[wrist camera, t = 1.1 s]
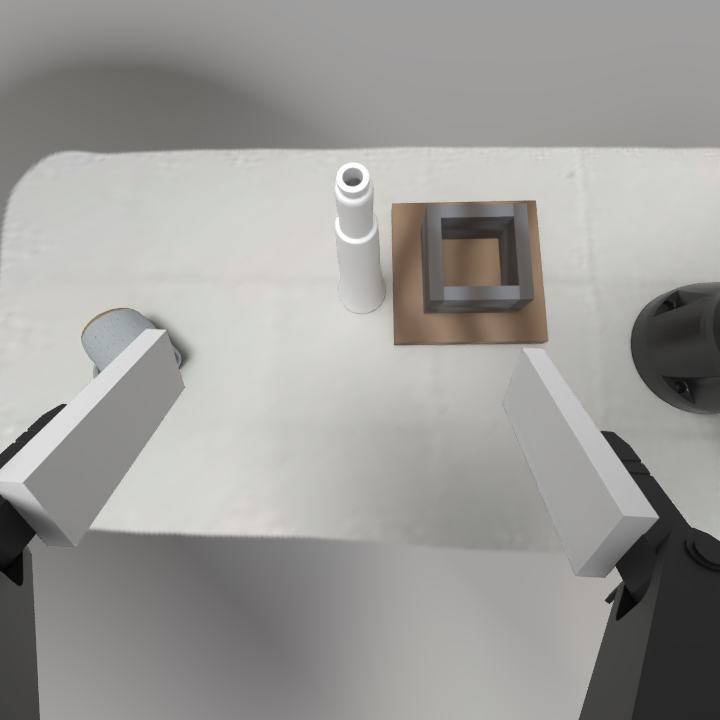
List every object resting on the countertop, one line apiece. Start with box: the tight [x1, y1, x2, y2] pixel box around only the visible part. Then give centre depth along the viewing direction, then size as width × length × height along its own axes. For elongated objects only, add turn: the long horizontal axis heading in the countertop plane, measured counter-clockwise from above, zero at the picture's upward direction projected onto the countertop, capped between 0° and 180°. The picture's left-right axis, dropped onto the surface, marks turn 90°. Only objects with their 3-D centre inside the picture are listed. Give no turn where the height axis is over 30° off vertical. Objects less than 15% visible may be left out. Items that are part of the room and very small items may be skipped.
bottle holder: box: [392, 201, 548, 345], centre depth 42 cm, size 18×18×6 cm
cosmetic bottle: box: [334, 163, 385, 314], centre depth 35 cm, size 6×6×22 cm
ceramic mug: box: [81, 308, 182, 379], centre depth 41 cm, size 11×8×8 cm
